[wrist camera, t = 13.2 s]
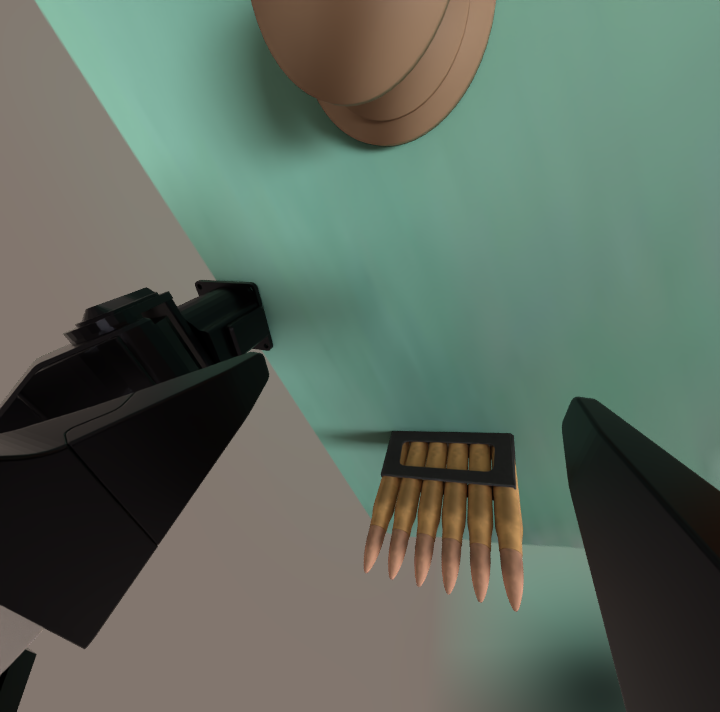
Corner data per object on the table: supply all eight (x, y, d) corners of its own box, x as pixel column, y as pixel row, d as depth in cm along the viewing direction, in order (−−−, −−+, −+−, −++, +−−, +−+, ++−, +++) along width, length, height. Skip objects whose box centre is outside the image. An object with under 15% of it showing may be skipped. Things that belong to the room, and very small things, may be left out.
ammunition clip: (513, 433, 24) (535, 608, 15) (514, 448, 25) (537, 624, 15) (391, 430, 29) (348, 562, 19) (396, 444, 29) (357, 576, 20)
